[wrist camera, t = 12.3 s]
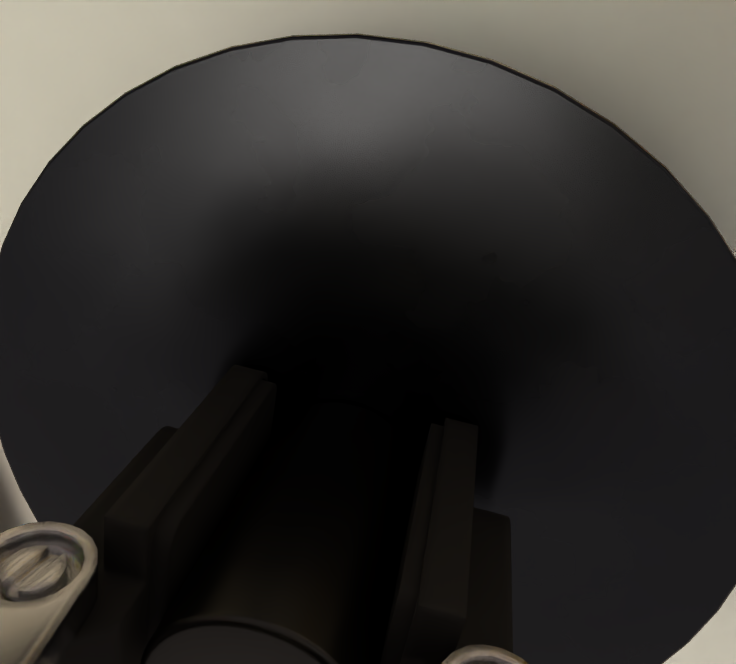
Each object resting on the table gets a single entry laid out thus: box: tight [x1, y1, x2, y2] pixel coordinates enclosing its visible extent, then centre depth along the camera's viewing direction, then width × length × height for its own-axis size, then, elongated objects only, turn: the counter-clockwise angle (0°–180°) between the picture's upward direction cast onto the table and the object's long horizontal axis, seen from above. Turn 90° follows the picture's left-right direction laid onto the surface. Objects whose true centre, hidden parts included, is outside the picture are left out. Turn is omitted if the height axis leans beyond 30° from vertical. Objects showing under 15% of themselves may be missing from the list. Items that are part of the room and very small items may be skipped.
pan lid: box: [0, 34, 736, 664], centre depth 9 cm, size 13×13×6 cm
